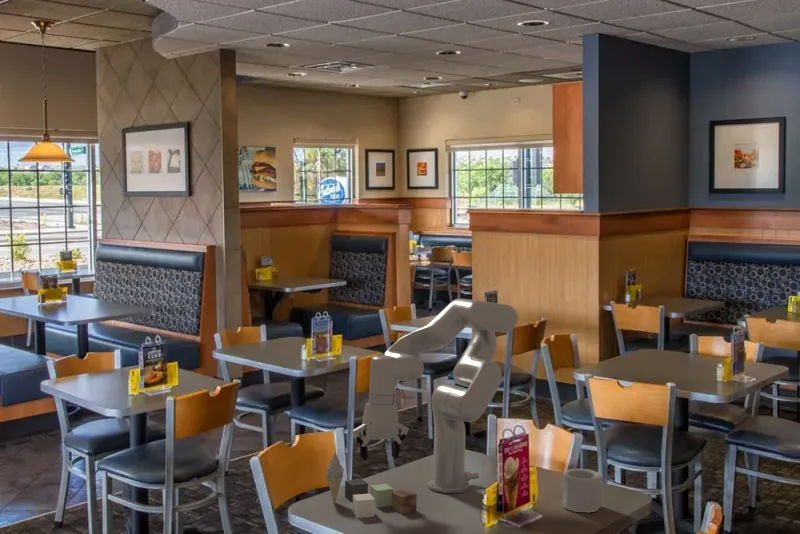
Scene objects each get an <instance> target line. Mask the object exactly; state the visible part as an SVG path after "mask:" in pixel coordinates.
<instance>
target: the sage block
mask: <svg viewBox="0 0 800 534" xmlns="http://www.w3.org/2000/svg"><path fill="white" fill-rule="evenodd" d="M369 489H370V490H369V491H370V492H369V494H371V495H372V496H373V498H374V499H375V508H383V507H384V508H385V507H386V508H387V507H390V506H391V507H392V492H394V488H393V487H392V486H391V485H389V484H388V483H381V484H372V485H370V488H369Z"/></svg>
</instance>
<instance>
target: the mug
mask: <svg viewBox="0 0 800 534" xmlns="http://www.w3.org/2000/svg"><path fill="white" fill-rule="evenodd" d="M561 483H562V486H561V487H562V506H563V508H564V509H565V508H566V509H565V510H567V509H568V510H567V511H569V510H572V511H580V512H581V511H583V512H584V511H585V512H586V511H592V510H596V509H599V508H600V509H601V507H600V506H601V505H602V504H601V490H602V489H601V488H602V475H601V474H600V473H599V472H598V471H596V470H592V469H586V468H570V469H567V470H565V471H564V472H563V473H562V482H561ZM572 511H571V512H572Z"/></svg>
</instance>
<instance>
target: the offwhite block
mask: <svg viewBox="0 0 800 534" xmlns="http://www.w3.org/2000/svg"><path fill="white" fill-rule="evenodd" d="M375 508H376V507H375V499H374V498H373V496H372V495H371V494H370V493H368V494H358V495H353V502H352V513H353V515H354V517H356V519H364V517H365V518H374V517H375V514H376V513H375V511H376V510H375Z"/></svg>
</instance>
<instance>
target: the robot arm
mask: <svg viewBox="0 0 800 534" xmlns="http://www.w3.org/2000/svg"><path fill="white" fill-rule="evenodd" d="M517 323H518V313H517V311H516V309H515V308H514V307H513V306H511V305H509V304H503V303H497V302H493V301H492V302H491V301H490V302H489V301H483V300H482V301H481V300H475V299H467V298H456V299H455V298H454V299H453V300H452V301H451V302H450V303H449V304H447V305H446V306H445V307H444V308H443V309H442V310H441V311H440V312H439V313H438V314H437V315H436V316H435V317H434V318H433V319H432V320H431V321H430V322H429V323H427V324H426V325H425V326H423V327H421V328H417V329H416V330H414V331H412V332H410V333H408V334H406V335H404V336H402V337H401V338H399V339H397V340H396V341H395V342H394V343H393V344H392V345H391V346H390V347H389V348H388V349H387V350H386V351H385V352H384V353H383V355H382V354H380V355H374V356H372V357H371V359H370V364H369V365H370V367H369V388H368V390H369V392H368V402H366V403H365V406H364V408H363V409H364V411H363V414H362V423H361V425H359V426H358V427H355V428H354V429H352V430H351V434H352V436H353V438H354V441H356V443H358V445H359V457H360V458H361V460H363V461H367V460H368V446H367V445H368V444H369V442H370V441H371V440H372V441H374V440H375V441H376V440H389V439H391V440H392V443H391V456H392V457H394V458H395V459H399V455H400V452H401V451H400V449H401V447H400V446H401V444H402V442H403V441H404V439H405V438H406V436H407V434H408V432H409V430H410V428H409V427H407V426H406V425H403V424H402V423H400V418H399V409H398V404H397V403H396V401H397V400H400V394H398V393H396V391H397V390H396V389H397V387H396V386H397V382H398V381H399V382H400V381H401V382H414V381H416V380H418V379H420V378H421V377H422V375H423V373H424V370H425V368H424V363H423V361H422V360H421V359H420V358H419V357H417V355H419V354H422V353H425V352H430V351H436V350H440V349H444V348H445V347H447V346H448V345H449V344H450V343H451V342H452V341H453V340H454V339H455V338H456V337H457V336H458V335H459V334H460V333H461V332H463V330H464V329H465V328H468V329H469V328H470V329H471V334H472V335H471V338H470V339H471V340H470V341H469V343H468V345H467V347H466V349H465V350H464V351H463V353H462V355H461V357H460V358H459V359H458V361H457V363H456V364H455V366H454V367H453V371H452V377H453V380H454V381H455V382H456V383H457V384H458V385H455V384H451V383H444V384H439V386H437V387H436V388H435V389H434V390H433V392H432V395H431V402H430V403H431V410H432V414H433V424H434V425H433V426H434V427H433V430H434V431H433V432H434V434H433V478H432V479H430V480H429V481H428V483H427V487H428V488H429V489H430V490H432V491H434V492H438V493H442V494H443V493H444V494H456V493H459V494H460V493H463V492H466V491H468V490H469V488H470V482H469V481H470V480H478V479H479V478H480V476H479V475H480V474H479V472H478V471H476V472H471V471H466V470H465V467H466V465H465V463H466V458H465V457H466V426H465V422H467V423H472V422H475V421H477V420H479V419H480V418H481V417H482V415H483V414H484V412H485V411H486V409H487V407H488V406H489V405H490V403H491V402H492V400H493V397H494V396H495V394H496V393H497V390H499V388H500V386H501V385H500V384H501V382H502V376H503V375H502V370H501V368H500V365H499V364H498V363H497V362H496V361H493V358H494V356H495V354H496V352H497V345H498V343H497V338H496V332H497V333H508V332H511V331H512V330H514V329H515V328H516V326H517ZM459 385H461V386H459ZM400 430H401V433H400ZM360 433H361V435H362V436H361V437H360V435H359V434H360ZM399 433H400V434H399Z"/></svg>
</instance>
